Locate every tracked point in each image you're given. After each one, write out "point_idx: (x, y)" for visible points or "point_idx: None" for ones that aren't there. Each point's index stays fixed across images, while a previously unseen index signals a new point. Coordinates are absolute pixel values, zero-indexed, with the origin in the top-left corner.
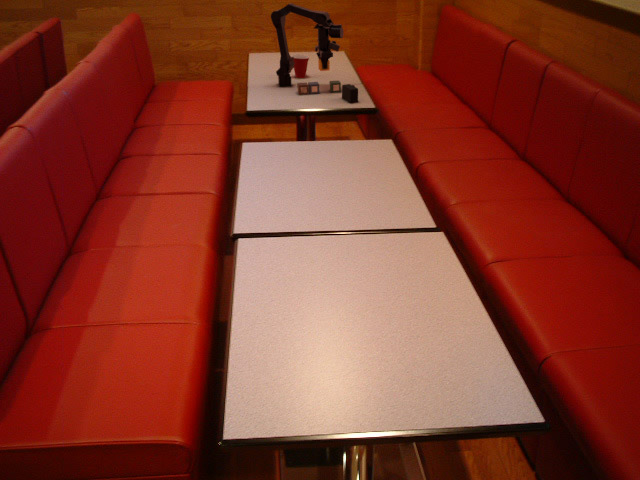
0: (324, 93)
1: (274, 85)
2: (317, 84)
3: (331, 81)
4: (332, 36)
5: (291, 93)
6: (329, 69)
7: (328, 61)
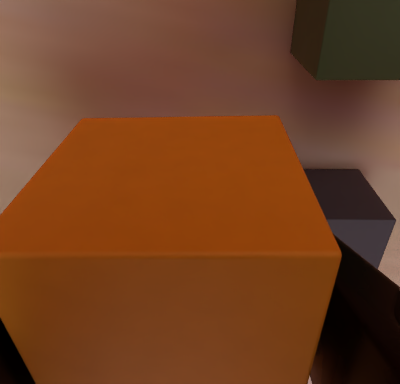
0: (377, 126)
1: None
2: (389, 232)
3: (355, 59)
4: None
5: None
6: (280, 123)
7: (329, 268)
